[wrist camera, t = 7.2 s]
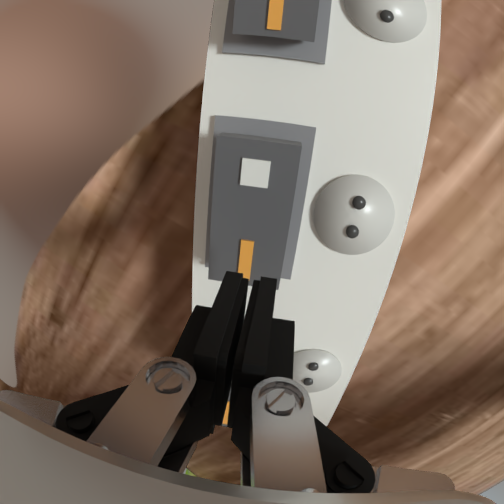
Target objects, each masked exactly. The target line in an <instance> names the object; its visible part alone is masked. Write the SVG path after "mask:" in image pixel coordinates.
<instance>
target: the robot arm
mask: <svg viewBox="0 0 504 504" xmlns="http://www.w3.org/2000/svg"><path fill="white" fill-rule="evenodd" d="M248 283H249V279H247V278H243V273H237V272H231V271H226V273H225V276H224V278H223V281H222V283H221V286H220V288H219V291H218V293H217V296H216V298H215V300H214V303H213V305H212V308H211V307H206V306H200V305H196V306H195V308H194V310H193V312H192V314H191V316H190V318H189V320H188V322H187V325H186V327H185V329H184V331H183V333H182V335H181V337H180V340H179V342H178V344H177V346H176V348H175V350H174V352H173V355H172V357H161V358H156V359H154V360H152V361H150V362H148V363H147V364H146V365H145V366H144V367H143V368H142V369H141V370H140V372H139V373H138V374H137V376H136V377H135V378H134V380H133V381H132V382H131V383H130V385H127V386H124V387H121V388H118V389H115V390H112V391H109V392H106V393H103V394H99V395H96V396H93V397H90V398H87V399H83V400H80V401H77V402H73V403H71V404H69V405H67V406H63V405H62V404H61V402H59V401H54V400H49V399H44V398H40V397H35V396H31V395H27V394H23V393H19V392H15V391H11V390H3V391H0V504H496V503H495V502H493V501H492V500H490V499H488V498H486V497H483V496H480V495H477V494H473V493H469V492H463V491H456V490H455V486H454V484H453V482H452V480H451V479H450V478H449V477H447V476H446V475H444V474H441V473H436V472H427V471H419V470H412V469H405V468H399V467H392V466H387V465H381V466H380V467H374V466H371V464H370V463H369V462H368V461H367V460H366V459H365V458H363V457H362V456H361V455H360V454H358V453H357V452H356V451H355V450H354V449H352V448H351V447H350V446H349V445H348V444H346V443H345V442H344V441H343V440H342V439H340V438H339V437H338V436H337V435H336V434H334V433H333V432H332V431H331V430H330V429H329V428H327V427H326V426H325V425H324V424H323V423H322V422H321V421H319V420H318V419H317V418H316V417H315V416H314V415H313V411H312V405H311V400H310V397H309V394H308V391H307V390H306V389H305V388H304V387H303V386H302V385H301V384H299V383H298V382H296V381H294V380H293V363H294V337H295V321H291V320H284V319H278V318H273V311H274V303H275V294H276V286H277V279H275V278H269V277H262V276H261V279H260V280H254V281H253V285H252V289H251V293H250V297H249V302H248V306H247V310H246V314H245V308H246V299H247V291H248ZM244 316H245V318H244ZM230 389H231V393H230ZM229 393H230V403H229V412H228V422H227V427H230V428H233V429H232V437H231V440H232V441H233V443H234V444H235V445H236V446H237V447H238V448H239V449H240V451H241V485H236V484H230V483H225V482H219V481H214V480H209V479H204V478H200V477H195V476H191V475H187V474H183V472H184V470H185V468H186V467H187V465H188V463H189V461H190V459H191V457H192V455H193V453H194V451H195V449H196V446H197V443H198V441H199V440H201V439H203V438H205V437H207V436H209V434H210V433H211V434H213V431H214V427H215V425H219V426H222V423H223V418H224V414H225V410H226V406H227V402H228V398H229Z"/></svg>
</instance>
